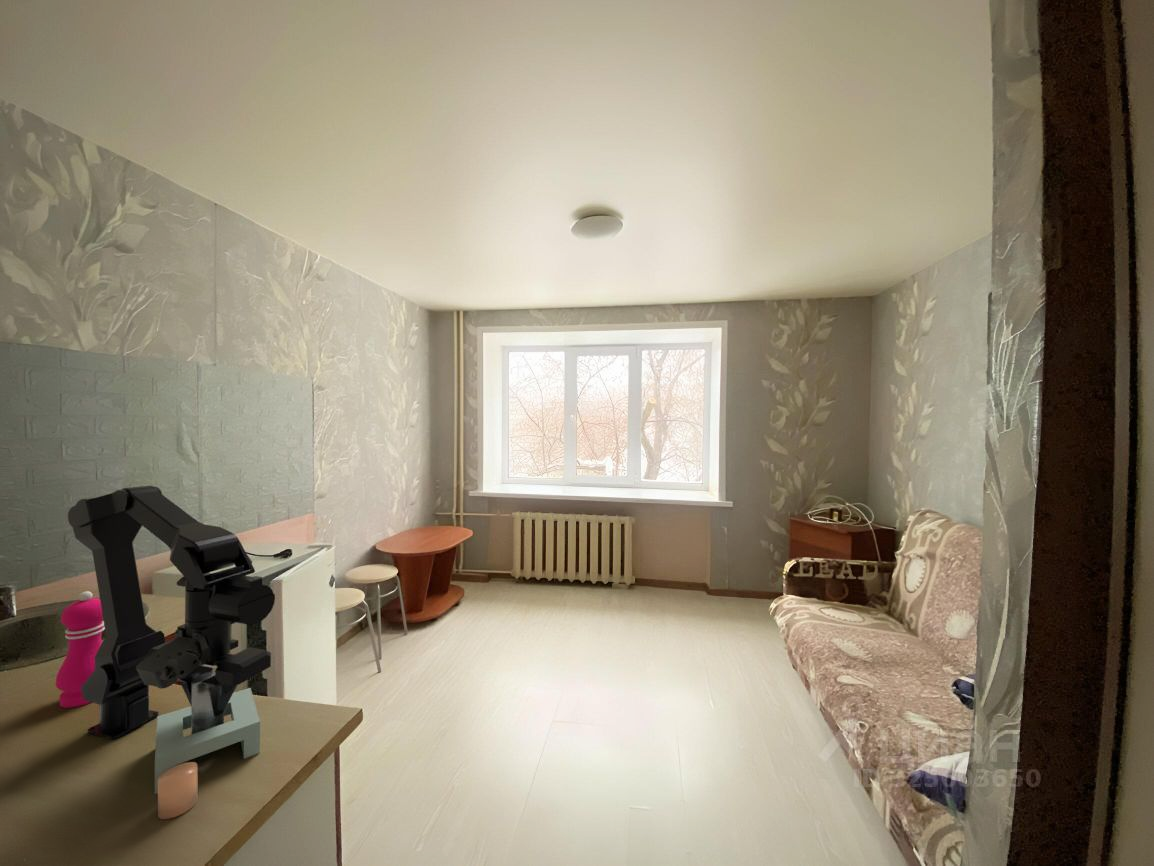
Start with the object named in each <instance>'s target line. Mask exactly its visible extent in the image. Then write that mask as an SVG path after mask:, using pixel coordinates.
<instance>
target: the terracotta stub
mask: <svg viewBox="0 0 1154 866" xmlns="http://www.w3.org/2000/svg"><path fill="white" fill-rule="evenodd" d="M198 779H199V777H198V763H197V762H195V761H189V762H188V761H186V762H183V763H180V764H177V765H175V766H174V767H172V768H170V769H169V770H167V771H166V772H164V773H163V774H162V775H161V776H160V777H159V778H158V793H157V816H158V818H159V819H160V820H169V819H173V818H176V817H179V816H181V815H183V814H185V813H186V812H187V811H189V810H190V809H191V808H192V809H193V807H194V806H195V805H196V804H197V802H198V800H199V786H198V785H199V784H198Z"/></svg>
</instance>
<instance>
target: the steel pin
mask: <svg viewBox="0 0 1154 866" xmlns="http://www.w3.org/2000/svg"><path fill="white" fill-rule="evenodd" d="M214 672H215V670H212V672H208V673H204V674H202V675H199V676H197V677H196V678H194V679H193V680H192V682H191V705H190V706H191V728H190V735H192V734H195V733H198V732H201V731H204V730H207V729H210V728H213V727H215V726H218V725H221V724H224V723H225V716H224V712H223V713H222V714H220V715H219V716H214V712H213V705H212V694H211V687H210V686H208V685H205V684H203V683H202V681H204V680H206V679H208V678H210V677H212V676H214Z"/></svg>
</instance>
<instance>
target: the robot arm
mask: <svg viewBox="0 0 1154 866" xmlns="http://www.w3.org/2000/svg"><path fill="white" fill-rule="evenodd" d="M67 521H68V524H69V525H70V526H71V527H72V530H73V533H74V536H75V537H74V538H75V539H76V540H77V541H79V542H80V543H81V544H82V545H84V546H85V548H88V549H89V550H90V551H91V553H92V558H93V563H94V570H95V571H94V572H95V576H96V582H97V590H98V595H99V599H100V602H101V608H102V614H103V621H104V627H105V629H104V632H105V637H104V639H103V641H102V644H101V646H100V648H99V650H98V651H97V653H96V655H95V670H94V672H93V673H92V674H91V675H90V676H89V678H88V679H87V680H86V681H85V683H84V684H83V685H82V686H81V692H82V696H83V700H86V701H89V702H91V703H92V704H96V705H99V723H97V724H95V725H93V726H91V727H89V728H88V729H87V734H91V735H94V736H98V737H99V736H100V737H103V738H107V739H112V740H115V739H117V738H118V739H119V737H121V736H124V735H125V734H127V733H129V732H131V731H132V730H134V729H137V728H139V726H142V725H143V724H145V723H147V722H149V721H151V720H154V719H155V718H156V717H157V716H160V715H159V714H160V713H159V711H155V710H151V709H150V696H149V691H150V690H149V689H150V687H149V686H152V687H156V688H158V689H161V690H162V689H166V688H169V687H171V686H173V685H174V684H175V683H176V682H177V681H178V682H179V684H180V686H181V687H182V690H183V691H184V694H185V696H186V699H187V700H188V702H189V706H191V682H192V680H193V679H194V678H196V677H197V676H199V675H202V674H204V673H208V672H212V671H213V669H214V671H215V672H214V676H212V677H210V678H208V679H206V680H204V681H202V683H203V684H205V685H208V686H210V687H211V694H212V705H213V712H214V716H219V715H220V714H222V713H223V712H224V710H225V708H226V706H227V704H228V702H229V700H230V698H231V696H232V694H233V693H235V691H236V688H237V687H238V686H239V685H241V684H243V683H244V682H246V681H248V680H250V679H252V678H253V677H254V676H257V675H258V674H260V673H262V672H264V671H266V670H267V669H268V668H271V667H272V652H270V651H268V650H267V649H263V648H257V647H255V648H254V647H248V648H244V649H243V650H241V651H239V652H237V653H231V650H234V649H236V648H238V647H239V640H238V639H233V637H232V636H233V633H232V630H233V629H232V628H233V627H232V625H233V624H236V623H237V624H243V625H247V626H248V625H249V626H252V625H256V624H258V623H261V622H262V621H263V620H265V619H266V618H267V617H268V616H269V614H270V613H271V612H272V610H273V608H274V605H275V601H276V594H275V593H274V591H273V589H272V588H271V587H270V586H268V585H266V584H263V576H258V575H256V576H249V575H253V574H254V573H255V572H256V570H255V567H254V566H253V560H252V558H250V556H249V555H248V554H247V552H246V550H245V548H244V546H243V545H242V543H241V540H240V539H239V538H238V536H237V535H236V534H234V533H233V532H232V531H230V530H227V529H225V528H223V527H221V526H216V525H212V524H211V525H210V524H204V523H202V522H200V521H198V520H197V519H196V518H194V517H193V516H191V514H189V513H187V512H186V511H185V510H183V509H182V508H181V507H180V506H178V505H177V504H175V502H173V501H172V500H170V499H168V497H166V496H165V495H163V493H162V490H161V489H160V488H159V487H158V486H154V485H141V486H132V487H131V486H130V487H124V488H123V487H122V488H121V489H119V490H118V489H117V490H115V491H113V492H111V493H108V494H104V495H100V496H97V497H89V498H81V499H79V500H78V501H77V502H76V504H75V505H73V506H72V507H70V508H69V510H68V513H67ZM142 527H143V528H144V529H146V530H148V531H149V532H150V533H151V534H153V535H154V536H155V537H156V538H157V539H158V540H160V541H161V542H162V543H164V544H165V545H166V546H167V547H168V549H170V555H169V561H170V562H171V563H172V564H173V565H174V567H175V568H176V569H177V570H178V571H179V573H181V575H182V577H181V578H179V579H178V580H177V581H176V586H178V587H184V624H180V625H179V626H177V627H176V628H177V629H176V630H175V632H174V633H175V634H174V635H175V636H174V638H173V639H171V640H168V641H166V640H165V638H166V637H165V633H164V632H163V631H162V630H158V631H157V630H155V629H154V628H152V627H151V626H149V625H148V623H147V620H146V615H145V610H144V609H145V607H144V602H143V598H142V591H141V585H140V578H139V573H138V567H137V562H136V555H135V550H134V540H135V539H136V537H137V535H138V533H139V532H140V531H141V529H142ZM233 566H234V567H233ZM226 568H227V569H226ZM212 572H213V573H212ZM165 641H166V642H165Z"/></svg>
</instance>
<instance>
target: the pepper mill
mask: <svg viewBox="0 0 1154 866" xmlns="http://www.w3.org/2000/svg"><path fill="white" fill-rule="evenodd" d="M60 621H61V624H62V625H63V626H64V627H66V629H65V631H64V633H65V636H64V637H65V638H66V640H68V650H67V653H66V657H65V659H64V660H63V663H62V664H61V665H60V667H59V670H58V672H57V674H56V677H55V687H56V688H57V689H58V690H59V691H61V694H59V706H60V707H61V708H68V709H69V708H76V707H81V706H84V705H87V704H91V703H92V702H89V701H86V700H83V696H82V692H81V686H82V685H83V684H84V683H85V681H86V680H87V679H88V678H89V676H90V675H91V674H92V673H93V672H94V670H95V655H96V653H97V651H98V650H99V648H100V646H101V644H102V642H103V641H102V634H103V631H105V627H104V620H103V614H102V608H101V602H100V598H94V597H93V593H92V592H91V591H88V590H87V591H83V592H81V593H80V594H79V595H78V600H77V601H74V602H72V603H71V604H70V605H68V606H67V607H65V609H64V610H63V611H62V613H61V617H60Z"/></svg>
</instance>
